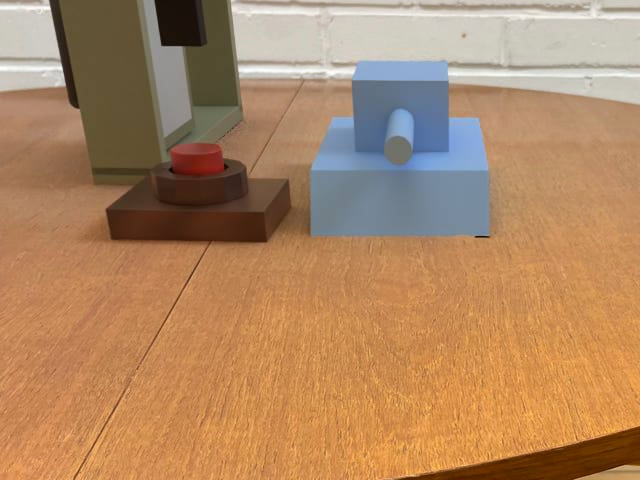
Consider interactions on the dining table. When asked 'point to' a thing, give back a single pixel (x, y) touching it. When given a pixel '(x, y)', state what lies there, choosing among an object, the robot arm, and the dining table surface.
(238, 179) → the button block
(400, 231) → the toy tank
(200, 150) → the button
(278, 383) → the dining table surface
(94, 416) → the dining table surface
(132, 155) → the window frame
